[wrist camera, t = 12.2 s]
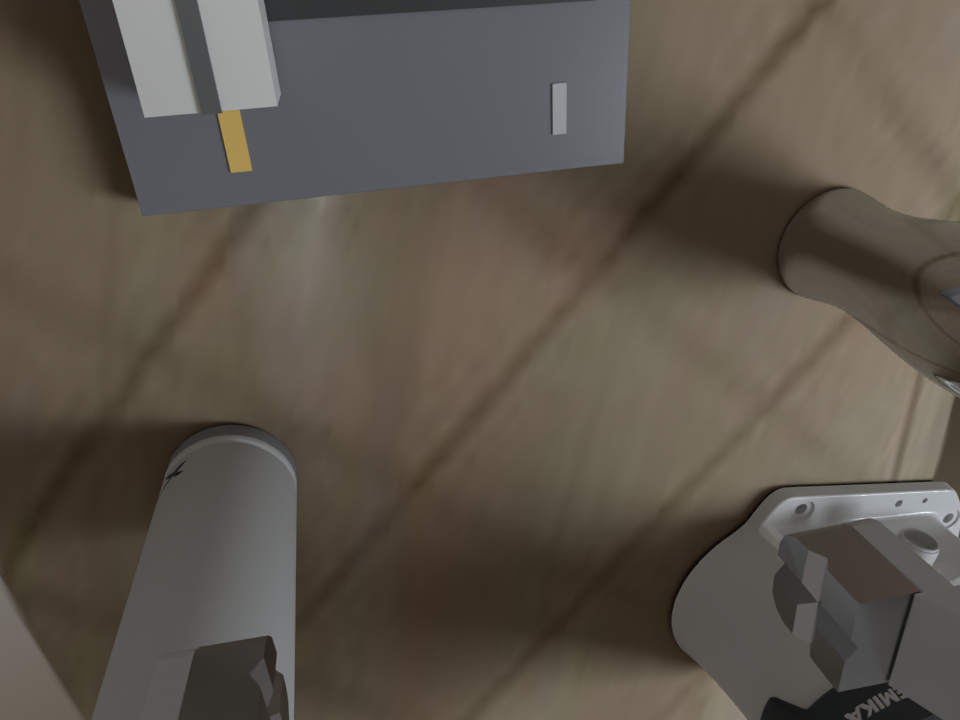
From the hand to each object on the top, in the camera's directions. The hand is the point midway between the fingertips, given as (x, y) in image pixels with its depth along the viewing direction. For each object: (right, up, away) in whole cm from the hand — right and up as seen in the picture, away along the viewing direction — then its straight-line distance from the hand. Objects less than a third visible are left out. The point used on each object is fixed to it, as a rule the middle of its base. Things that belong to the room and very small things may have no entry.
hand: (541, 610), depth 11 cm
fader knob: (-10, +16, +13) cm, 23 cm away
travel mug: (-14, -2, +24) cm, 28 cm away
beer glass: (+18, +10, +26) cm, 33 cm away
